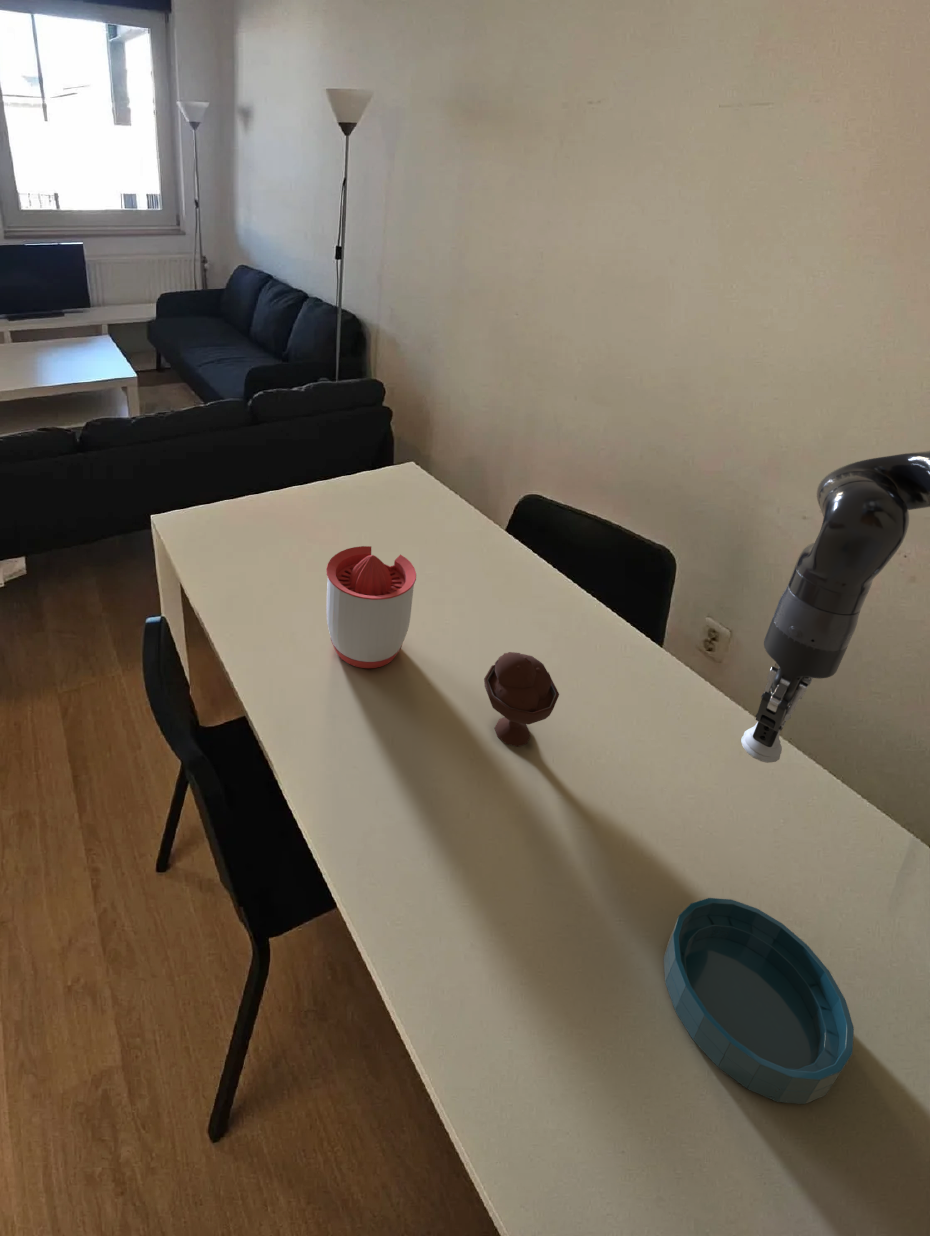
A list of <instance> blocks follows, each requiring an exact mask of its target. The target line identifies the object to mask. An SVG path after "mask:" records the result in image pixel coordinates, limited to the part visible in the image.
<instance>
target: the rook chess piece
mask: <svg viewBox="0 0 930 1236" xmlns="http://www.w3.org/2000/svg"><path fill="white" fill-rule="evenodd" d="M791 718H792V714H791V715H789V714H787V716H786V718H785V720H784V721H786V722H787V721H789V720H790V719H791ZM786 722H784V723H785V724H784V726H782V728H784V727H785V725H786ZM757 724H758V721H757V722H756V723H755V725H753V726H752V727H750V728H748V729H746V730H744V732H743V736H741V740H740V742H741V745H742V747H743V749H744V750H745V752H746V754H748V756H750V757H752V758H753V759H755V760H757V761H759V762H761V763H767V764H768V763H776V762H778V761H779V760H781V759H780V758H781V754H782V752H783V751H782V750H783V746H782V744H781V739H780V735H781V731H782V730H779V732H778V735H777V737H776V739H775V742H774V744H773V746H772V747H767V746H765V745H763V744H762V743H760V742H758V741H756V740H755V739H754V738H753V734H754V731H755V729H756V726H757Z"/></svg>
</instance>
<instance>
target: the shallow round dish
mask: <svg viewBox="0 0 930 1236" xmlns="http://www.w3.org/2000/svg"><path fill="white" fill-rule="evenodd" d="M674 923H675V924H674V926H673V929H672V931H671V934H670V936H669V938H668V942H667V945H666V948H665V952H664V954H663V971H664V972H663V973H664V982H665V986H666V989H667V991H668V995H669V997H670V1001H671V1003H672V1005H673V1009H674V1011H675V1013H676V1015H677V1017H678V1018H679V1020H680V1021H681V1023H682V1024H683V1026H684V1028H685V1029H686V1031H687V1032H688V1035H689V1036H690V1038H691V1039H692V1040H693V1042H694V1043H695V1044H696V1045H697V1046H698V1047H699V1048H700V1050H702V1052H703V1053H704V1054H705V1055H706V1056H707V1057H708V1058H709V1059H710V1060H711V1062H713V1064H714V1065H715V1066H716V1067H717V1068H719V1069H720V1070H721V1071H723V1072H724V1073H725V1074H726V1075H728V1076H729V1077H731V1078H732V1079H733V1080H734V1081H736V1082H738V1083H739V1084H740V1085H741V1086H743V1087H744V1088H745V1089H747V1090H749V1091H751V1092H753V1093H756V1094H758V1095H760V1096H763V1097H765V1098H767V1099H769V1100H772V1101H774V1102H777V1103H785V1104H797V1105H798V1104H799V1105H806V1104H808V1103H811V1102H813V1101H816V1100H818V1099H820V1098H822V1097H825V1096H826V1095H827V1094H828V1093H829V1091H830V1089H831V1088H832V1086H833V1085H834V1083H835V1081H836V1080H837V1079H838V1077H839V1075H840V1074H841V1073H842V1071H843V1069H844V1068H845V1066H846V1065H847V1063H848V1062H849V1060H850V1059H851V1057H852V1056H853V1053H854V1035H855V1034H854V1033H855V1026H854V1023H853V1021H852V1017H851V1013H850V1011H849V1007H848V1004H847V1000H846V997H845V996H844V994H843V993H842V991H841V989H840V987H839V985H838V984H837V982H836V980H835V978H834V977H833V975H832V973H831V971H830V970H829V969H828V968H827V966H826V965H825V964H824V963H823V962H822V960H821V959H820V958H819V957H818V955H817V954H816V953H815V952H814V951H813V949H811V947H810V946H809V945H808V944H807V943H806V942H804V940H802V939H801V938H800V937H799V936H798V935H796V934H795V933H794V932H793V931H792V930H791V929H790V928H788V927H787V926H786V925H785V924H784V923H782V922H781V921H779V920H778V919H776V918H775V917H772V916H771V915H769V914H768V913H765V912H764V911H762V910H761V909H759V908H757V907H754V906H752V905H748V904H746V903H743V902H741V901H737V900H734V899H730V898H717V897H707V898H704V899H700V900H697V901H694V902H691V903H690V904H689V905H687V906H686V908H685V909H684V910H682V911H681V913H679V914H678V916H677V918H676V921H675V922H674Z"/></svg>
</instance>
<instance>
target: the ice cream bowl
mask: <svg viewBox="0 0 930 1236" xmlns="http://www.w3.org/2000/svg"><path fill="white" fill-rule="evenodd" d="M483 681H484V688H485V691H486V694H487V696H488V699H489V702H490V705H491V707H492V709H494V710H495V711H496V712H497V713H499V714H500V715H501V716H502V718H501V717H500V718H499V719H498V720H497V722H496V724H495V725H494V731H495V734H496V737H497V738H498V739H499V740H501V741H502V742H503V743H504V744H505V745H508V746H513V747H521V746H524V745H527V744H528V743H529V742H530V741H529V740H530V738H531V733H530V730H529V727H528V726H527V725H531V724H535V723H539V722H541V721H544V720H546V719H547V718H549V717H550V716H551V714H552V713H553V711H554V708H555V706H556V703H557V701H558V698H559V696H560V693H559V690H558V688H557V686H556V685H555V683H554V681H553V679H552V677H551V674H550V672H549V671H548V670H547V668H546V666H545V665H544V663H542V661H540V660H539V659H537V658H536V657H534V656H533V655H530V654H524V653H521V652H514V651H513V652H512V651H508V652H504V653H503V654H502V655H500V656H498V658H497V660H496V661H495V662H494V664H493V665H491V666H490V667H489V670H488V671H487V673H486V675H485V677H484V679H483Z"/></svg>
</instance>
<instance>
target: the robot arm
mask: <svg viewBox="0 0 930 1236" xmlns="http://www.w3.org/2000/svg"><path fill="white" fill-rule="evenodd" d="M816 500H817V503H818V506H819V509H820V511H821V513H822V517H823V518H822V523H821V527H820V530H819V532H818V535H817V537H816V539H815V541H814V542H812V543H810V544H808V545H806V546H805V547H804V548H803V549H802V551H801V553H800V554H799V556H798V558H797V560H796V561H795V562H796V563H795V565H794V568H793V569H792V573H791V576H790V578H789V581H788V583H787V585H786V588H785V589H784V591H783V592H782V594H781V595H780V598H779V600H778V603H777V605H776V608H775V611H774V613H773V615H772V617H771V622H770V624H769V626H768V629H767V632H766V634H765V637H764V640H763V648H764V650H765V652H766V653H767V655H768V656H769V657H770V659H772V661H774V665H772V666H771V667H770V669H769V672H768V673H767V675H766V679H767V683H766V685H765V686H764V690H763V692H762V694H761V696H760V698H761V700H760V704H759V706H758V709H757V712H756V714H755V721H757V722H758V724H757V726H756V729H755V731H754V734H753V738H754V739H755V740H756V741H758V742H760V743H762V744H763V745H765V746H767V747H772V746H773V744H774V742H775V739H776V737H777V735H778V732H779V730H781V731H782V730H783V728H784V727H785V726H784V724H785V725H786V722H787V721H784V720H785V718H786V716H787V714H789V715H791V716H792V715H793V713H794V712H795V711H796V708H797V706H798V704H799V702H800V700H802V699H803V697H804V696H805V694H806V692H807V690H808V688H809V687H810V686H811V683H812V682H813V680H814V679H821V680H822V679H829V678H831V677H833V676H834V675H836V673H837V672H838V670H839V668H840V665H841V662H842V660H843V658H844V656H845V654H846V651H847V649H848V647H849V645H850V642H851V640H852V638H853V636H854V634H855V631H856V628H857V626H858V623H859V616H860V612H861V610H862V607H863V605H864V603H865V601H866V599H867V596H868V594H869V592H870V590H871V589H872V588H871V587H872V584H873V581H874V579H875V578H876V577H877V576H878V575H879V574H880V573H881V572H882V571H883V570H884V568H885V567H886V566H887V565H888V564H889V562H890V561H891V560H892V559H893V557H894V556H895V554H896V553H897V552H898V550H899V549H900V547H901V546H902V545H903V542H904V539H905V538H906V535H907V533H908V529H909V524H910V512H909V511H912V510H918V509H927V508H930V450H925V451H916V452H915V451H913V452H906V453H899V454H892V455H886V456H879V457H873V458H867V459H862V460H859V461H855V462H851V463H848V464H845V465H842V466H840V467H838V468H836V469H834V470H832V471H830V472H829V473H828V474H826V475H825V476H824V477H823V478H822V479H821V481H820V482H819V484H818V486H817V489H816ZM784 722H785V723H784ZM782 726H784V727H783V728H782Z"/></svg>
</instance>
